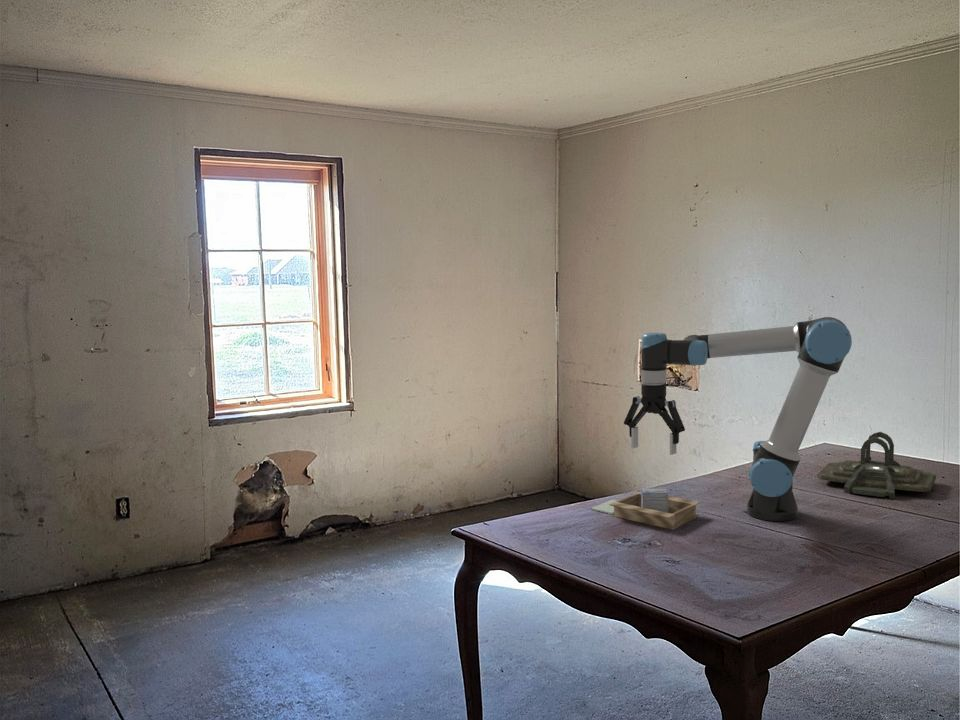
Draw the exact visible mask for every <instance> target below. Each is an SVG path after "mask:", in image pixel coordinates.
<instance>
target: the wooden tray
mask: <svg viewBox="0 0 960 720" xmlns="http://www.w3.org/2000/svg"><path fill="white" fill-rule="evenodd" d="M700 503H701V502H700V501H696V500H692V499H686V498H680V497H675V496H671V495H668V513H666V512H661V511H657V510H652V509H647V508H643V507H641V491H637V492H635V493H633V494H631V495H629V496H626V497H624V498H622V499H620V500H617V501H616V502H614V503H611V504H609V505H610V506H614V514H613V517H614V518H615V517H616V518H620V519H625V520H628V521H629V520H630V521H633V522H638V523H642V524H647V525H650V526H654V527H660V528H664V529H668V530H672V531H673V530H675V529H678V528H679V527H682V526H683V525H685V524H687V523H689V522H691V521H693V520H695V519H697V505H699V504H700Z"/></svg>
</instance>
